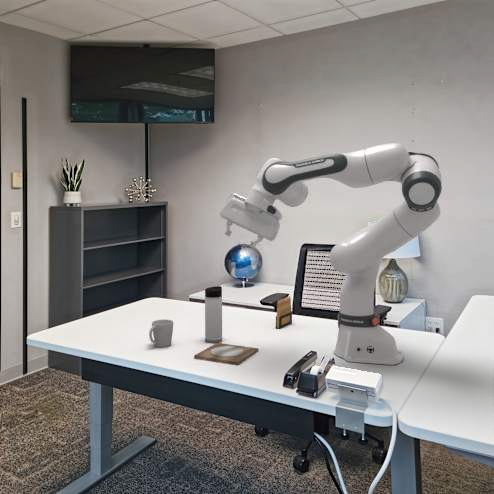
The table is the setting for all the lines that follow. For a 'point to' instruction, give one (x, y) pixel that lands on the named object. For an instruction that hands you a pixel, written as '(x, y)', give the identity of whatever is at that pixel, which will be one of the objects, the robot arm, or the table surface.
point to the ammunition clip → (283, 313)
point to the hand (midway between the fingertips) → (239, 241)
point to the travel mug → (213, 314)
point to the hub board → (226, 353)
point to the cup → (161, 333)
